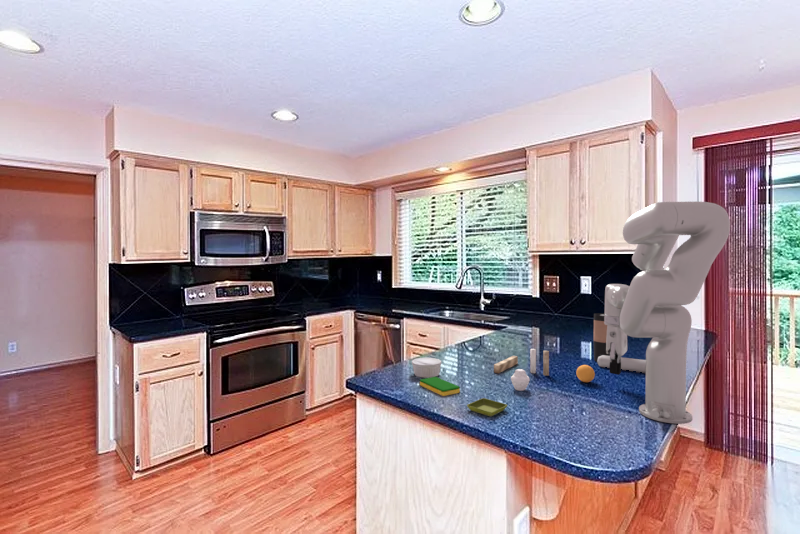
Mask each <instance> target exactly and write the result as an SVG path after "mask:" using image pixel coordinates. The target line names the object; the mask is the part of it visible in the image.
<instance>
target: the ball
mask: <svg viewBox="0 0 800 534" xmlns="http://www.w3.org/2000/svg"><path fill="white" fill-rule="evenodd" d="M575 372H576V377H577V378H578V380H579V381H581V382H583V383H590V382H592V381H593V380H594V379H595V375H596V373H595V370H594V369H593V367H591V366H590V365H588V364H582V365H580V366H577V368H576V371H575Z"/></svg>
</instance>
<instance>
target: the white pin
mask: <svg viewBox="0 0 800 534" xmlns="http://www.w3.org/2000/svg"><path fill="white" fill-rule="evenodd" d="M529 351H530V352H529V353H530V358H529V359H530V360H529V361H530V363H529V364H530V366H529V367H530V369H529V370H530V371H529V372H530V373H531V374H536V373H537V371H536V370H537V364H536V363H537V356H536V355H537V349H536V348H530V350H529Z"/></svg>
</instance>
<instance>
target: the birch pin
mask: <svg viewBox="0 0 800 534" xmlns="http://www.w3.org/2000/svg"><path fill="white" fill-rule="evenodd" d="M542 357H543V358H542V359H543V360H542V361H543V362H542V363H543V365H542V370H543V371H542V375H543V376H545V377H546V376H550V351H549V350H543V356H542Z"/></svg>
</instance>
